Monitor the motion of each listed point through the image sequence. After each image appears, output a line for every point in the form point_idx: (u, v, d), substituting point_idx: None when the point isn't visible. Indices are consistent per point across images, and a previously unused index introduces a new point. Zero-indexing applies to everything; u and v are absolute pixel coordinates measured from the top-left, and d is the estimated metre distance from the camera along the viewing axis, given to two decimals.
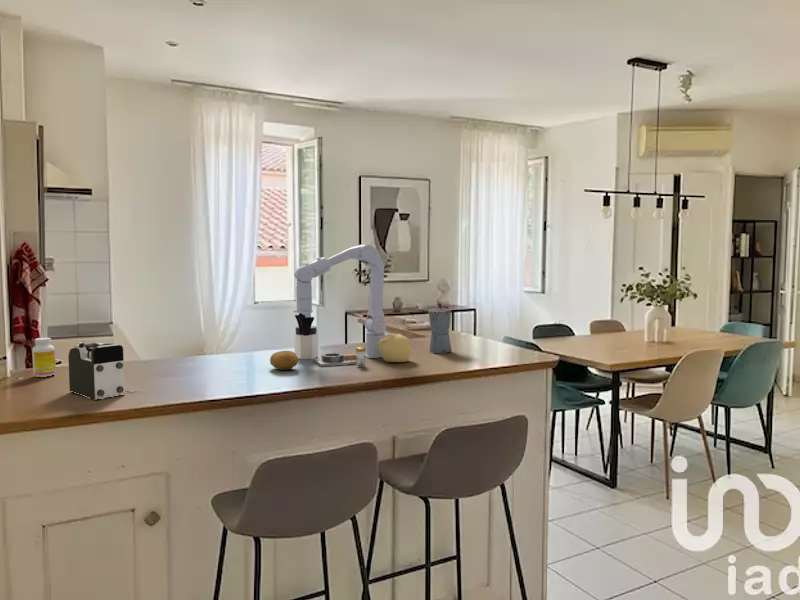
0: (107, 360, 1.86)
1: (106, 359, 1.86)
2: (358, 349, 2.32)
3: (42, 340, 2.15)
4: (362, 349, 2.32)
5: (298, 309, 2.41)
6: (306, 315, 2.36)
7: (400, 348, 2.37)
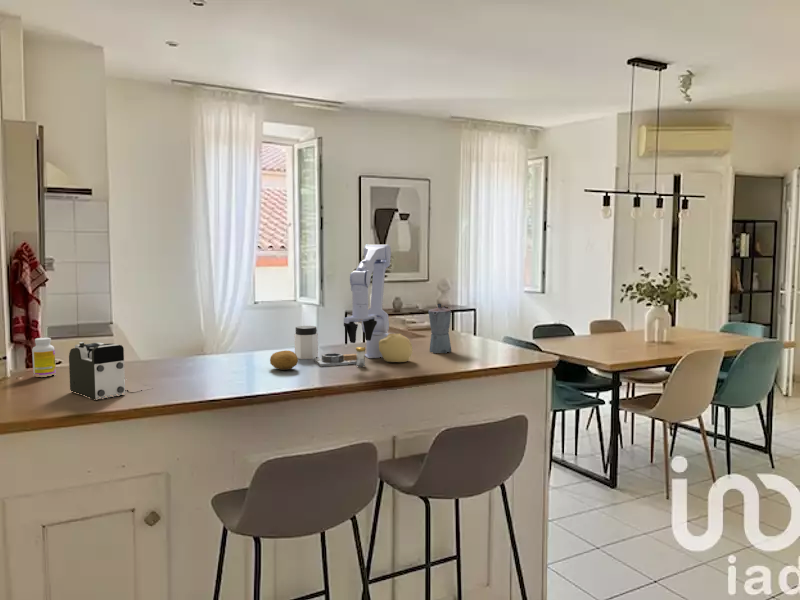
0: (107, 360, 1.86)
1: (106, 359, 1.86)
2: (358, 349, 2.32)
3: (42, 340, 2.15)
4: (362, 349, 2.32)
5: None
6: (344, 321, 2.28)
7: (400, 348, 2.37)
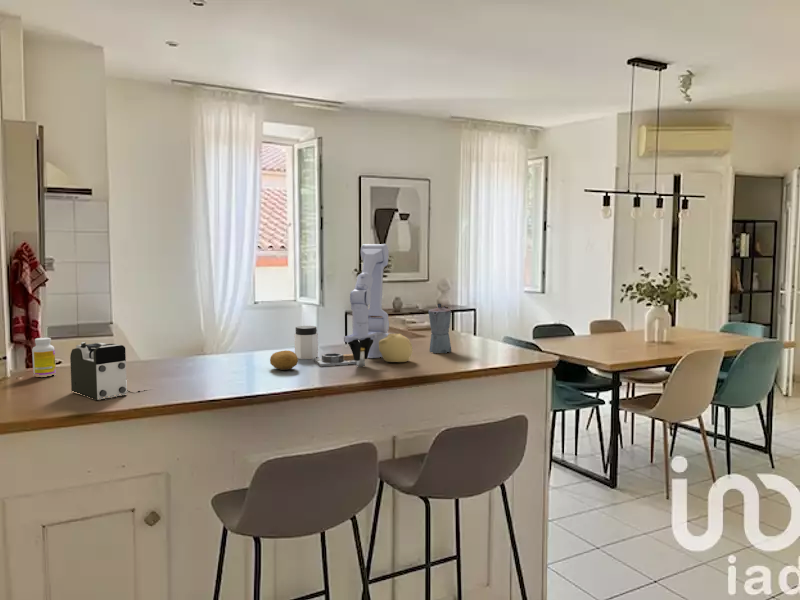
0: (109, 360, 1.86)
1: (108, 359, 1.86)
2: None
3: (42, 340, 2.15)
4: (362, 349, 2.32)
5: None
6: (344, 340, 2.29)
7: (400, 348, 2.37)
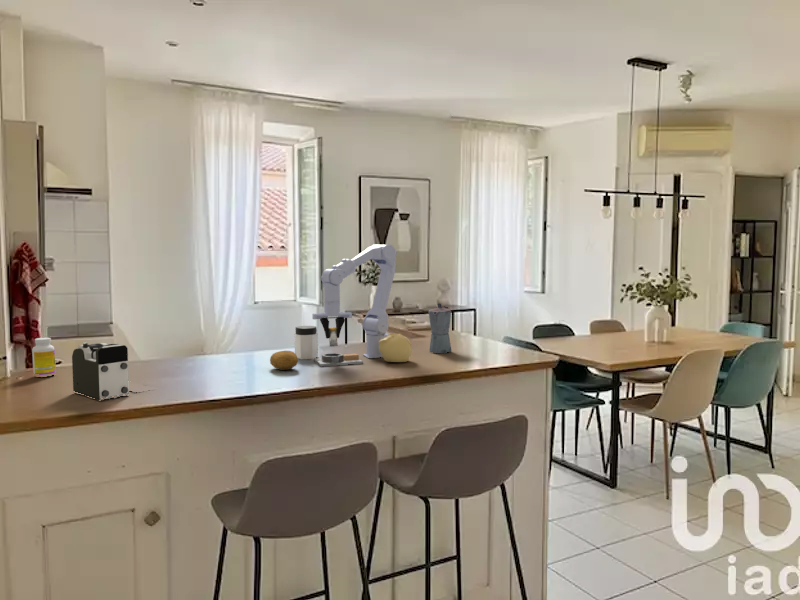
0: (112, 360, 1.86)
1: (111, 359, 1.85)
2: None
3: (42, 340, 2.15)
4: (332, 329, 2.38)
5: None
6: None
7: (400, 348, 2.37)
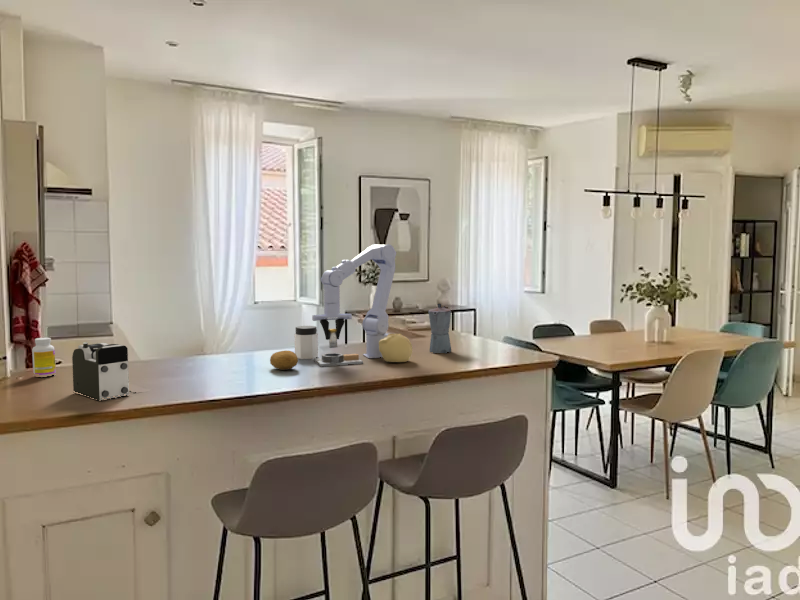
0: (111, 361, 1.86)
1: (110, 360, 1.85)
2: None
3: (42, 340, 2.15)
4: (332, 330, 2.38)
5: None
6: (312, 318, 2.38)
7: (400, 348, 2.37)
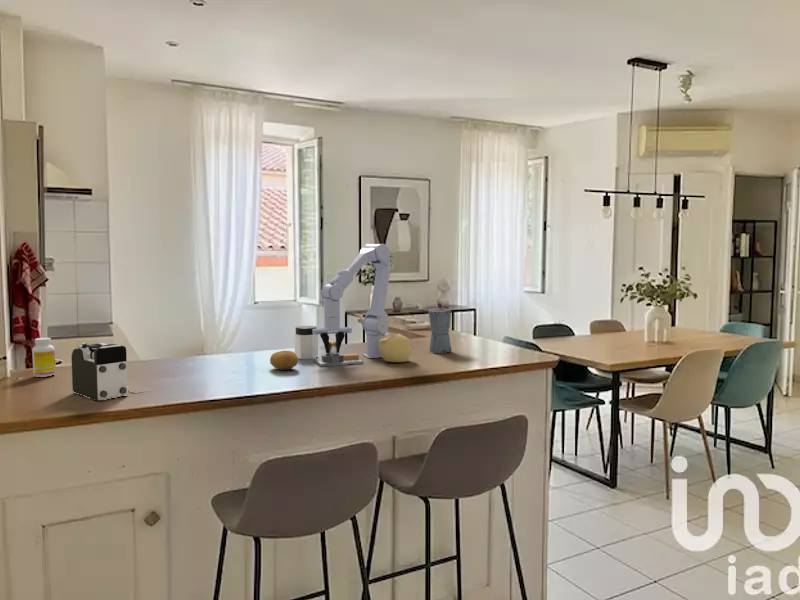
0: (110, 361, 1.85)
1: (109, 360, 1.85)
2: (329, 343, 2.39)
3: (42, 340, 2.15)
4: (332, 343, 2.38)
5: None
6: None
7: (400, 348, 2.37)
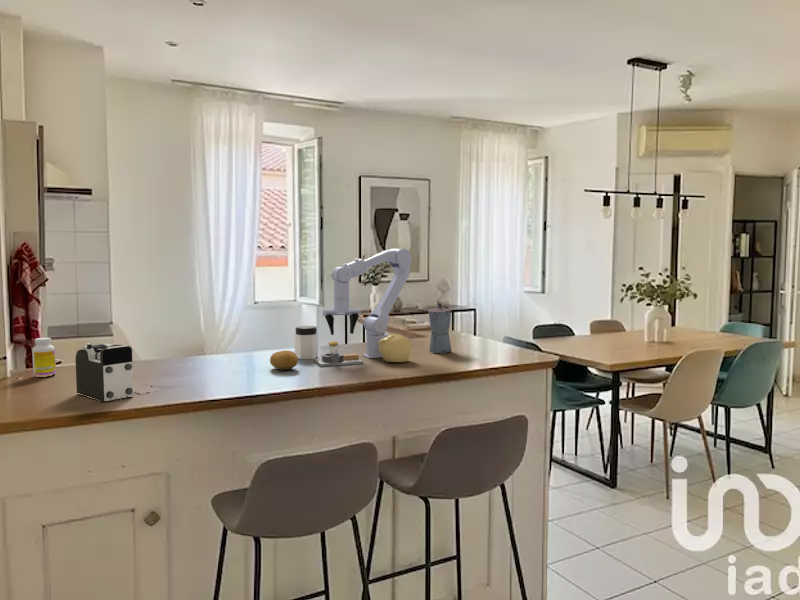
0: (116, 361, 1.84)
1: (115, 360, 1.84)
2: (329, 343, 2.39)
3: (42, 340, 2.15)
4: (333, 344, 2.38)
5: None
6: None
7: (400, 348, 2.37)
